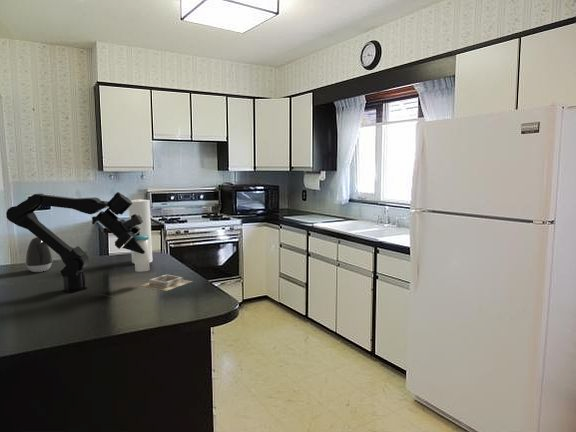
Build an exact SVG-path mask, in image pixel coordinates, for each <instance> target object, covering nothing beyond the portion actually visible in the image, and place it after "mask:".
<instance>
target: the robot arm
mask: <svg viewBox="0 0 576 432" xmlns="http://www.w3.org/2000/svg"><path fill="white" fill-rule="evenodd" d="M132 204H133V203H132V202H131V199H130V198H128V197H127V196H125V195H124V194H122V193H120V192H118V191H117V192H116V193H115V194H114V196H113V197H111V199H110V200H108V201H107V200H101V199H100V198H99V197H96V196H95V197H80V198H79V197H78V198H77V197H76V198H75V197H67V196H60V195H59V196H58V195H52V194H51V195H50V194H45V193H41V192H40V193H35V194H32V195H31V196H30V197H28V198H27V199H25V200H24V201H22V202H21V203H19V204H17V205H15V206H10V207H9V208H8V209H7V210H6V212H5V214H6V215H5V217H6V219H7V221H9V222H11V223H13V224H15V225H16V226H17V227H20V228H22V229H26V230H28V231H29V232H30V233H31V234H33V235H34V236H36V237H38V238H39V239H40V240H41V241H43V242H44V243H45V244H46V245H48V247H49V249H51V250H52V251H53V252H55V253H56V254H57V255H59V257H60V259H61V261H62V263H63V265H65V266H64V267H63V268H62V269H61V270H60V271H59V272H60V274H61V276H62V281H63V282H62V283H63V288H61V291H63V292H67V293H75V292H79V291H82V290H86V289H88V286H86V276H85V275H84V274H85V273H84V271H85V268H86V266H88V264H89V261H90V259H89V256H88V254H87V253H88V252H86V251H84V250H83V249H82V248H81V247H80V246H79V245H77V246H75V247H72V246H70V245H69V244H68V243H66V242H65V241H64V240H63V239H61V238H60V237H59V236H57V234H55V233H54V232H53V231H52V230H51V229H49V228H48V227H47V226H46V225H45V224H43V223H42V222H40V220H39V219H38V217H37V215H36V213H35V212H36V211H37V210H38V209H39V208H40V207H41V206H45V207H53V208H63V209H70V210H71V209H72V210H75V211H78V212H80V213H84V214H87V215H94V214H96V215H95V216H91V220H92V221H91V224H92V225H95V224H97V223H98V222H99V223H100V224H101V225H102V226H103V227H104V228H106V229H107V230H108V233H109V234H112V235H114V236H115V237H116V238H117V239H116V240H115V241H114V246H115V247H116V248H117V249H118V250H120V249H121V248H122V249H125V250H127V251H135V252H138V253H141V254H144V253H145V251H144V250H143V249H142V248H141V246H140V245H139V244H138V243H137V242H136V238H135V236H137V235H140V231H139V230H140V228H139V227H137V226H136V225H139V224H141V223H143V221H142V219H141V218H142V217H140V215H136V214H134V215H132V216H131V219H128V220H125V219H124V218H123V219H122V218H121V219H120V217H119V216H118V215H120V216H121V215H123V214H124V213H125V212H126V211H127V210H129V207H130V206H131V205H132ZM106 208H107V209H106ZM104 209H105V210H104ZM103 210H104V211H103ZM138 231H139V232H138ZM137 232H138V233H137ZM123 245H124V246H123Z"/></svg>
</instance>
